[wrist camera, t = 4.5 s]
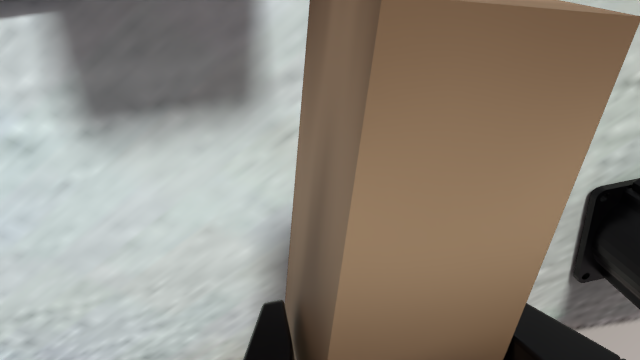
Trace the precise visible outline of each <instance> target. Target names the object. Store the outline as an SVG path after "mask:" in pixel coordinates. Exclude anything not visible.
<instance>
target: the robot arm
mask: <svg viewBox="0 0 640 360" xmlns="http://www.w3.org/2000/svg"><path fill="white" fill-rule="evenodd" d="M574 277H575V278H576V279H577V280H578V281H579V282H581V283H585V282H589V281H594V280H598V279H602V278H605V279H607V280H608V281H609V282H610V283H611V284H612V285H613V286H614V287H615V288H617V289H618V290H619V291H620V292H621V293H622V294H623V295H624V296H626V297H627V298H628V299H629V300H630V301H631V302H632V303H633V304H635V305H636V306H637V307H638V308H639V309H640V178H638V179H634V180H629V181H624V182H619V183H614V184H609V185H605V186H600V187H598V188H596V189H595V190H594V191H593V192H592V194H591V197H590V201H589V206H588V210H587V215H586V219H585V224H584V229H583V233H582V238H581V242H580V247H579V252H578V256H577V261H576V265H575V270H574ZM243 360H295V359H294V352H293V345H292V339H291V334H290V329H289V324H288V319H287V314H286V309H285V304H284V301H283V300H277V301H272V302H267V303H264V304H263V306H262V308H261V311H260V314H259V317H258V320H257V322H256V325H255V328H254V331H253V334H252V336H251V339H250V342H249V345H248V348H247V351H246V353H245V356H244V359H243ZM503 360H626V359H620V357H619V356H618V355H617V354H615V353H613V352H611V351H610V350H608V349H606V348H604V347H603V346H601V345H599V344H597V343H596V342H594V341H592V340H590V339H589V338H587V337H585V336H583V335H581V334H580V333H578V332H576V331H575V330H573V329H571V328H569V327H568V326H566V325H564V324H562V323H561V322H559V321H557V320H555V319H553V318H552V317H550V316H548V315H546V314H545V313H543V312H541V311H539V310H538V309H536V308H534V307H532V306H531V305H529V304H527V303H526V305H525V307H524V309H523V312H522V314H521V317H520V319H519V322H518V324H517V327H516V329H515V332H514V334H513V337H512V339H511V342H510V344H509V347H508V349H507V352H506V354H505V356H504V359H503Z"/></svg>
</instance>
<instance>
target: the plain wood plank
mask: <svg viewBox="0 0 640 360" xmlns="http://www.w3.org/2000/svg"><path fill="white" fill-rule="evenodd" d="M639 23H640V16H635V15H630V14H625V13H620V12H615V11H610V10H605V9H600V8H595V7H590V6H585V5H580V4H575V3H570V2H565V1H560V0H310V5H309V17H308V29H307V41H306V54H305V66H304V78H303V90H302V102H301V114H300V126H299V138H298V151H297V163H296V175H295V187H294V199H293V211H292V223H291V235H290V248H289V260H288V272H287V284H286V296H285V309H286V314H287V319H288V324H289V329H290V334H291V339H292V345H293V352H294V359H295V360H503V359H504V356H505V354H506V352H507V349H508V347H509V344H510V342H511V339H512V337H513V334H514V332H515V329H516V327H517V324H518V322H519V319H520V317H521V314H522V312H523V309H524V307H525V305H526V302H527V300H528V297H529V295H530V292H531V290H532V287H533V285H534V282H535V280H536V277H537V275H538V272H539V270H540V267H541V265H542V262H543V260H544V258H545V255H546V253H547V250H548V248H549V245H550V243H551V240H552V238H553V235H554V233H555V230H556V228H557V225H558V223H559V220H560V218H561V215H562V213H563V211H564V208H565V206H566V203H567V201H568V198H569V196H570V193H571V191H572V188H573V186H574V183H575V181H576V178H577V176H578V173H579V171H580V168H581V166H582V164H583V161H584V159H585V156H586V154H587V151H588V149H589V146H590V144H591V141H592V139H593V136H594V134H595V131H596V129H597V126H598V124H599V121H600V119H601V117H602V114H603V112H604V109H605V107H606V104H607V102H608V99H609V97H610V94H611V92H612V89H613V87H614V84H615V82H616V79H617V77H618V74H619V72H620V70H621V67H622V65H623V62H624V60H625V57H626V55H627V52H628V50H629V47H630V45H631V42H632V40H633V37H634V35H635V32H636V30H637V28H638V25H639Z"/></svg>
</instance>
